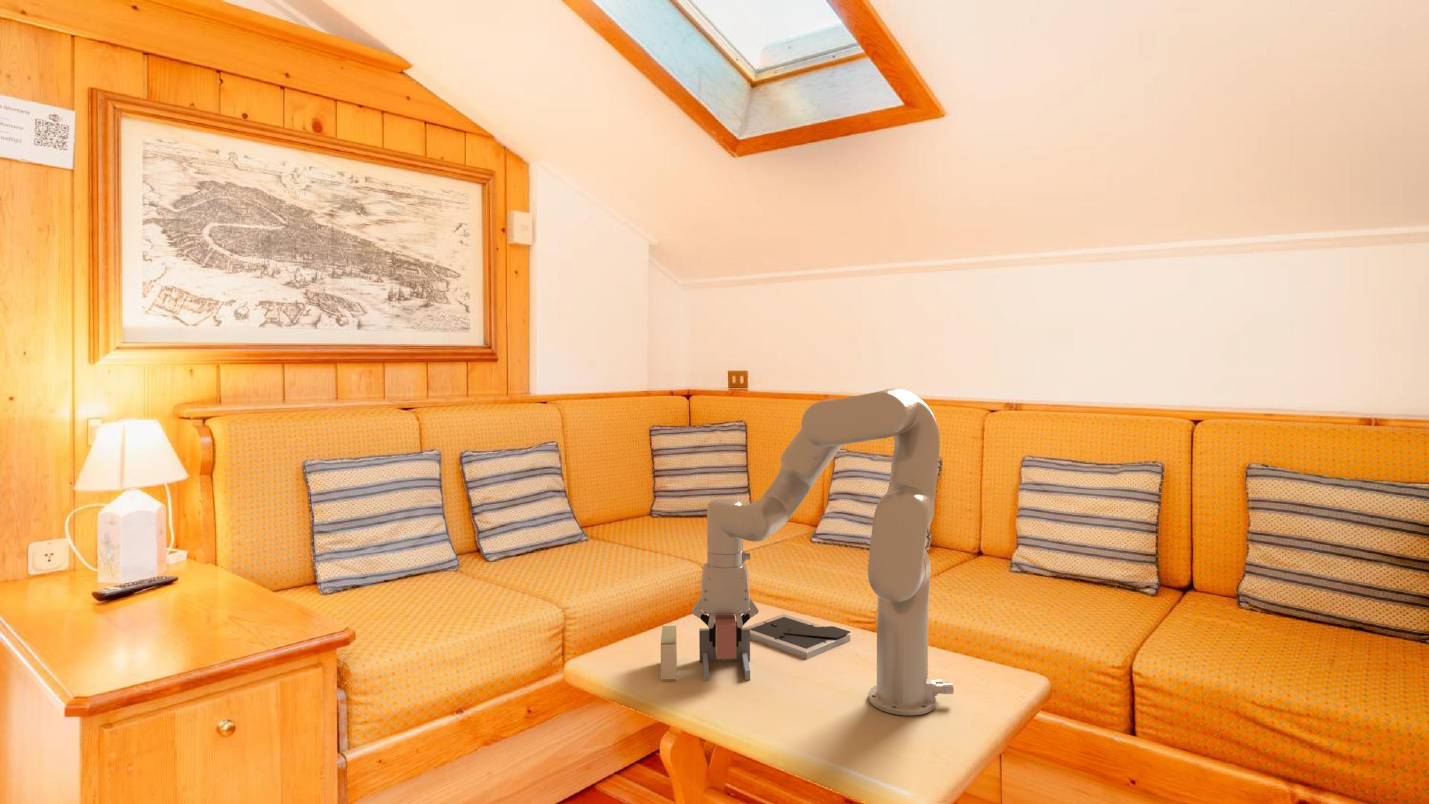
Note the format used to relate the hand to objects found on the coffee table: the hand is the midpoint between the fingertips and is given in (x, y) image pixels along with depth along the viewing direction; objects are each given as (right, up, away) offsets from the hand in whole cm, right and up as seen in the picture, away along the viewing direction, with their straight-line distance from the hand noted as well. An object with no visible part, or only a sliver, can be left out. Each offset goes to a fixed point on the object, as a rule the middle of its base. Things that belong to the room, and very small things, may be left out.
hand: (725, 643), depth 164 cm
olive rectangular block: (-12, -6, +1) cm, 13 cm away
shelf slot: (0, -6, +2) cm, 6 cm away
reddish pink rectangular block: (0, -1, 0) cm, 1 cm away
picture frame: (+17, -6, +20) cm, 27 cm away
